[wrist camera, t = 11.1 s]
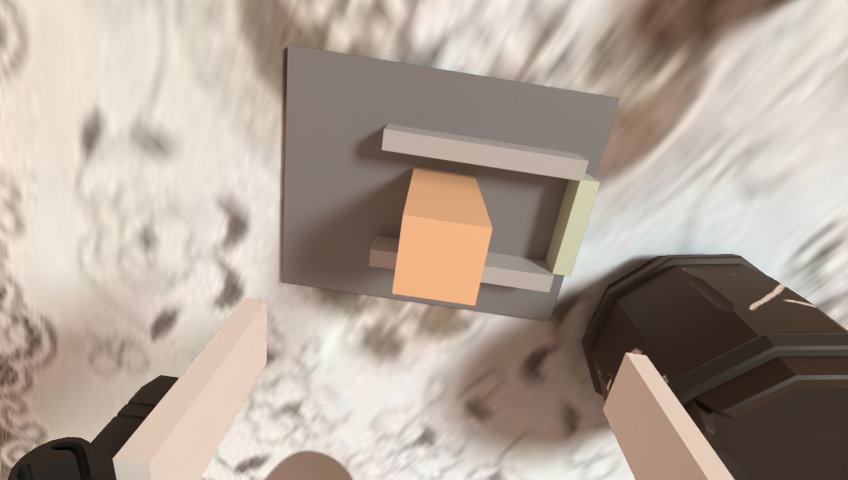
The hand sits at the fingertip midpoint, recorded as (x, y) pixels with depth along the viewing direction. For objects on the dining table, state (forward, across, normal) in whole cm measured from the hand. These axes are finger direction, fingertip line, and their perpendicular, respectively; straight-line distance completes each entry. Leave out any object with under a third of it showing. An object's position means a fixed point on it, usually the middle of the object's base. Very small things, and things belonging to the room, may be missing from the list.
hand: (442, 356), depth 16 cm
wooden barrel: (+22, +24, -10) cm, 34 cm away
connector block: (+21, 0, -1) cm, 21 cm away
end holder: (+22, 0, -1) cm, 22 cm away
